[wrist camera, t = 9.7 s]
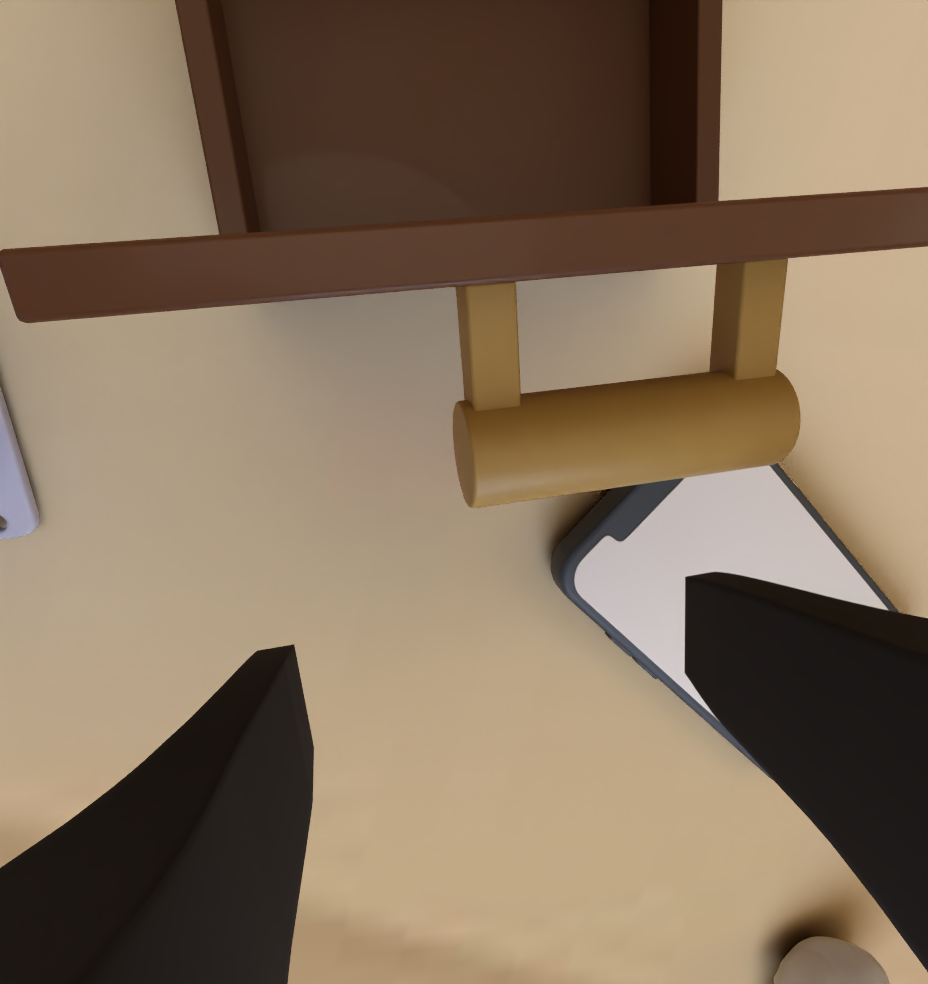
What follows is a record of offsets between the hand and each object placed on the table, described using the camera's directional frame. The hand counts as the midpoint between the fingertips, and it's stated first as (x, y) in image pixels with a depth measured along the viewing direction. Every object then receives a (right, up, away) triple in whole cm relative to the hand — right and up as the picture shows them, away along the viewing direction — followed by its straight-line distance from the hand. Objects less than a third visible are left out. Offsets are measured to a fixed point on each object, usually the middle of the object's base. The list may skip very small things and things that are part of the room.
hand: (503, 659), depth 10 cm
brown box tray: (-1, +14, +7) cm, 16 cm away
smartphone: (+10, -1, +13) cm, 17 cm away
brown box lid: (+1, +8, 0) cm, 8 cm away
